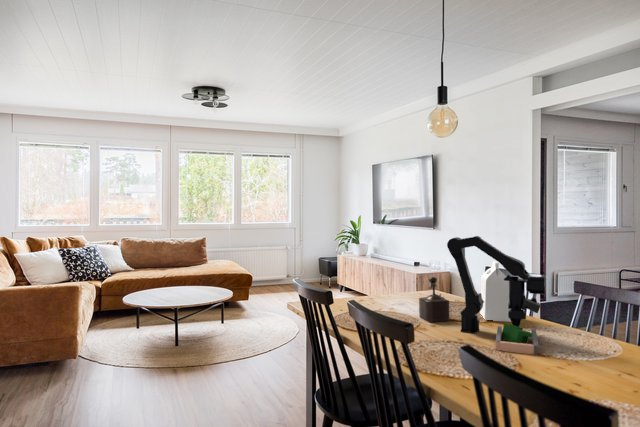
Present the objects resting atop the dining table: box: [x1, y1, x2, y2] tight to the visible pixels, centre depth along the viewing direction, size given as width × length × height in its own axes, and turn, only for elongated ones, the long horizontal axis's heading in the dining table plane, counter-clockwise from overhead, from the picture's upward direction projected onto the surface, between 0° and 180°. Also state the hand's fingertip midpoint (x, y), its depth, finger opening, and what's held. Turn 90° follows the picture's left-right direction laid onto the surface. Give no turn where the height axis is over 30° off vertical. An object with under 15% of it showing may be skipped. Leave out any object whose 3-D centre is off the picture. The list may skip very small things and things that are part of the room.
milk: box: [479, 260, 512, 323], centre depth 211 cm, size 12×12×26 cm
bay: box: [494, 325, 539, 356], centre depth 173 cm, size 14×24×3 cm, turn 157°
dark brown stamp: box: [418, 276, 450, 323], centre depth 211 cm, size 16×11×18 cm
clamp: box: [501, 322, 532, 344], centre depth 174 cm, size 12×6×9 cm, turn 177°
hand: (516, 331), depth 181 cm, fingers closed
